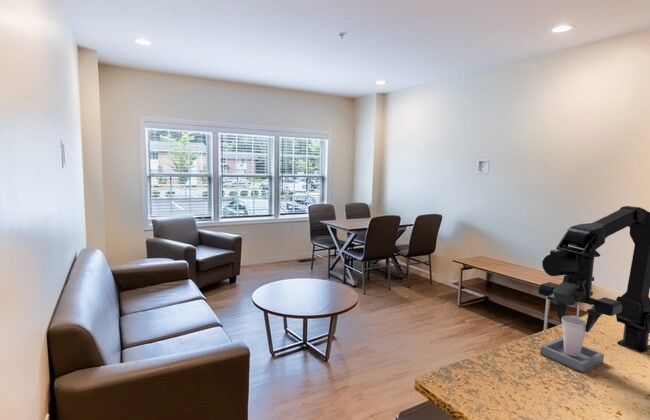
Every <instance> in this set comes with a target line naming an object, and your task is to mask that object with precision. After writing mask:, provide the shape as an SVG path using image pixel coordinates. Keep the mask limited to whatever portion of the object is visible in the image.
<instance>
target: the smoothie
mask: <svg viewBox="0 0 650 420" xmlns="http://www.w3.org/2000/svg"><path fill="white" fill-rule="evenodd" d="M580 308H581V305H580V304H577V308H576V315H566V314H565V316H562V319H561V321H562V323H561V324H562V337H563V341H564V352H565V353H567V354H569V355H572V356H579V355H580V352H581V349H582V345H583V344H584V341H585V336H586V334H587V332H586V323H587V319H586V318H583V317H580V310H581V309H580ZM583 346H584V345H583Z"/></svg>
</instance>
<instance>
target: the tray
mask: <svg viewBox="0 0 650 420" xmlns="http://www.w3.org/2000/svg"><path fill="white" fill-rule="evenodd" d="M539 354H540V355H541V356H543V357H545V358H547V359H550V360H552V361H554V362H557V363H559V364H561V365H562V366H565V367H567V368H570V369H572V370H574V371H576V372H579V373H580V374H584V373H585V372H588V371H589V370H591V369H593V368H596V367H597V366H599V365H601V364H603V363H604V361H605V360H604V358H605V353H602V352H601V351H598V350H595V349H592V348H589V347H588V346H585V345H582V349H581V352H580V355H579V356H572V355H569V354H567V353H565V352H564V341H563V336H562V337H559V338H557V339H554V340H552V341H549V342H547V343H544V344H542V345H540V350H539Z"/></svg>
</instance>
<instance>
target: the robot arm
mask: <svg viewBox="0 0 650 420" xmlns="http://www.w3.org/2000/svg"><path fill="white" fill-rule="evenodd" d="M627 227H628V228H629V236H630V238H631V240H632V242H633V243H634V247H633V252H632V253H633V255H632V259H631V264H630V269H629V270H630V271H629V276H628V282H627V288H626V292H624V293H623V294H622V295H619V296H617V297H616V300H615V299H612V298H609V297H606V296H605V297H602V298H598V299H597V298H594V297H592V296H594V295H593V294H594V291H592V282H594V281H595V276H593V272H594V263H595V258H598V257H599V258H600V257H601V254H600V253H599V251H597V249H599V248H601V246H603V245H604V244H606V239H607V238H608V237H610V236H611V235H614V234H615V233H618V232H619V231H621V230H623V229H625V228H627ZM542 269H543V271H544V272H545V273H546V274H547V275H548V276H549V277H550V276H551V277H559V276H563V280H562V282H561V283H554V282H552V281H551V282H550V281H548V282H545V283H541V284H539V286H538V287H537V294H539V295H542V296H545V297H546V298H547V300H548V301H550V302H551V303H552V304H553V305H554V308H555V310H556V314H557V315H558V316H557V317H558V319H559V323H560V324H563V323H562V321H561V319H562V316H566V313H567V306H571V307H572V306H574V305H575V304H576V303H580V304H587V305H590V306H591V308H589V309H586V313H587V319H586V320H587V323H586V333H590V332H591V330H592V328H594V325H595V324H596V323H597V322H598V320H599V318H600V317H601V316H602V315H606V316H609V317H614V316H615V317H616V318H615V319H616V322H617V323H621V324H624V327H623V335H622V339H620V340H618V341H617V344H618V345H621V346H622V347H625V348H628V349H630V350H634V351H636V352H640V353H643V354H645V352H648V351H650V344H649V337H650V297H649V294H650V211H648V210H647V209H645V208H642V207H640V206H633V205H632V206H629V205H625V206H621V207H620V208H619V209H618V210H616V211H614V212H612V213H610V214H608V215H605V216H604V217H601V218H599V219H597V220H595V221H593V222H590V223H589V222H588V223H579V224H575V225H573V226H570V227H569V228H568V229H567V231H566V232H565V233H564V235H563V237H562V238H561V239H560V241H559V243H558V245H557V246H556V247H555V249H551V250H550V252H549V254H547V255H545V256H544V258H543V259H542Z"/></svg>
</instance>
